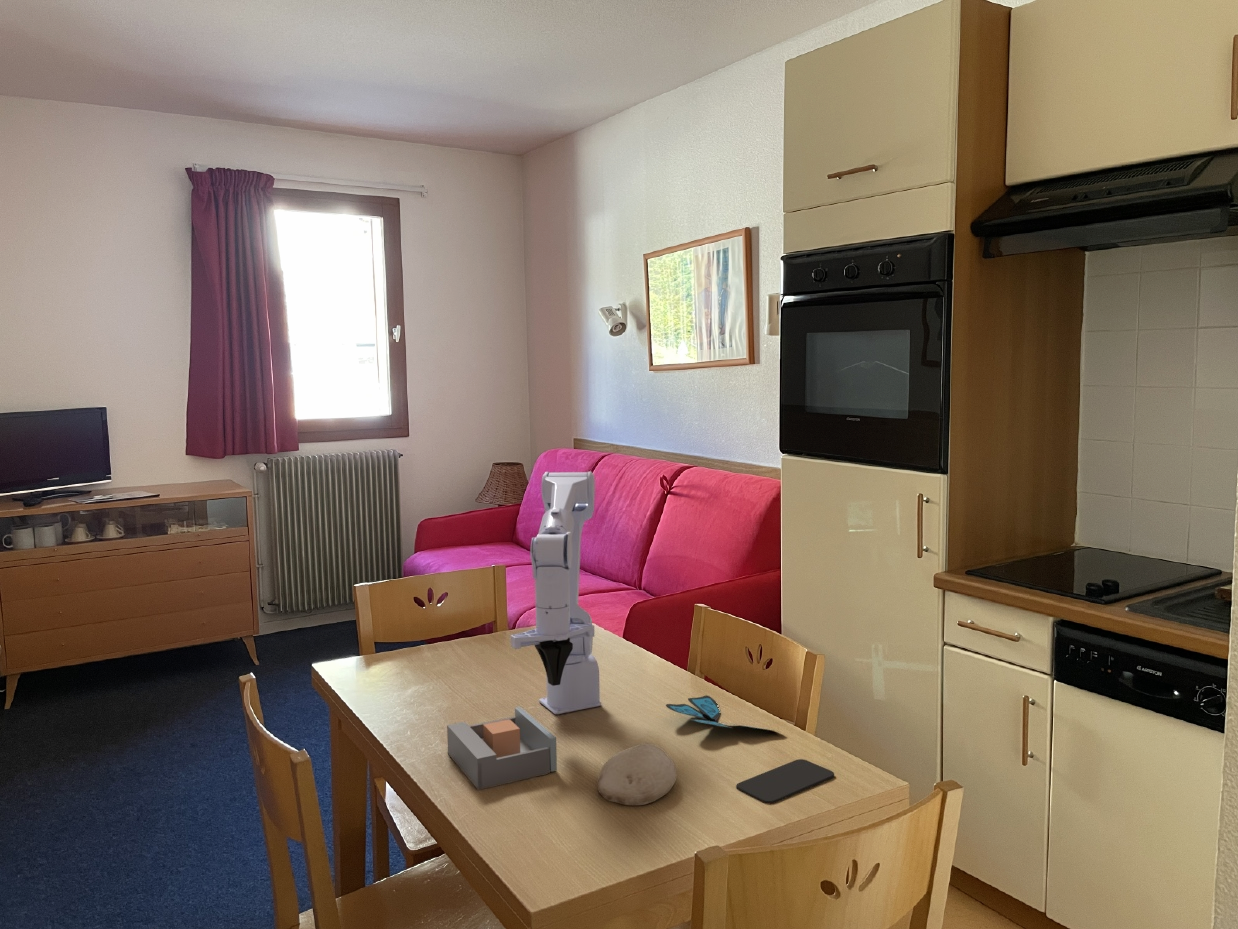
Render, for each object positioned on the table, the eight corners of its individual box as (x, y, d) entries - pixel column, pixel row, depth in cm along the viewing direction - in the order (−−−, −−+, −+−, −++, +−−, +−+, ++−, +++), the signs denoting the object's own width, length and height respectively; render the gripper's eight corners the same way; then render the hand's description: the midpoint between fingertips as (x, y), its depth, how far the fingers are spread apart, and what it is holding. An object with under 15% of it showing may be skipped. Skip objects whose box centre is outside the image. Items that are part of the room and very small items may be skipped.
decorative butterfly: (648, 711, 165) (649, 695, 164) (711, 701, 172) (713, 686, 172) (718, 756, 148) (719, 739, 147) (784, 743, 155) (786, 727, 155)
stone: (625, 838, 131) (649, 804, 127) (578, 787, 135) (599, 753, 131) (674, 796, 141) (697, 763, 138) (628, 750, 145) (649, 717, 141)
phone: (732, 785, 136) (800, 757, 145) (732, 790, 137) (800, 762, 146) (769, 803, 131) (837, 773, 140) (769, 808, 131) (837, 778, 140)
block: (510, 749, 149) (509, 719, 149) (520, 759, 145) (519, 728, 145) (483, 754, 147) (483, 724, 147) (493, 765, 143) (492, 734, 143)
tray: (521, 737, 156) (520, 706, 155) (556, 770, 142) (556, 737, 142) (453, 751, 150) (452, 719, 150) (484, 787, 137) (483, 753, 136)
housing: (514, 739, 155) (513, 712, 155) (549, 773, 142) (549, 743, 141) (447, 753, 150) (447, 725, 149) (478, 790, 137) (477, 758, 136)
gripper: (521, 616, 147) (522, 698, 148) (602, 604, 153) (603, 683, 155) (505, 606, 153) (507, 685, 154) (583, 595, 160) (585, 671, 161)
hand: (554, 683), depth 155 cm, fingers closed
